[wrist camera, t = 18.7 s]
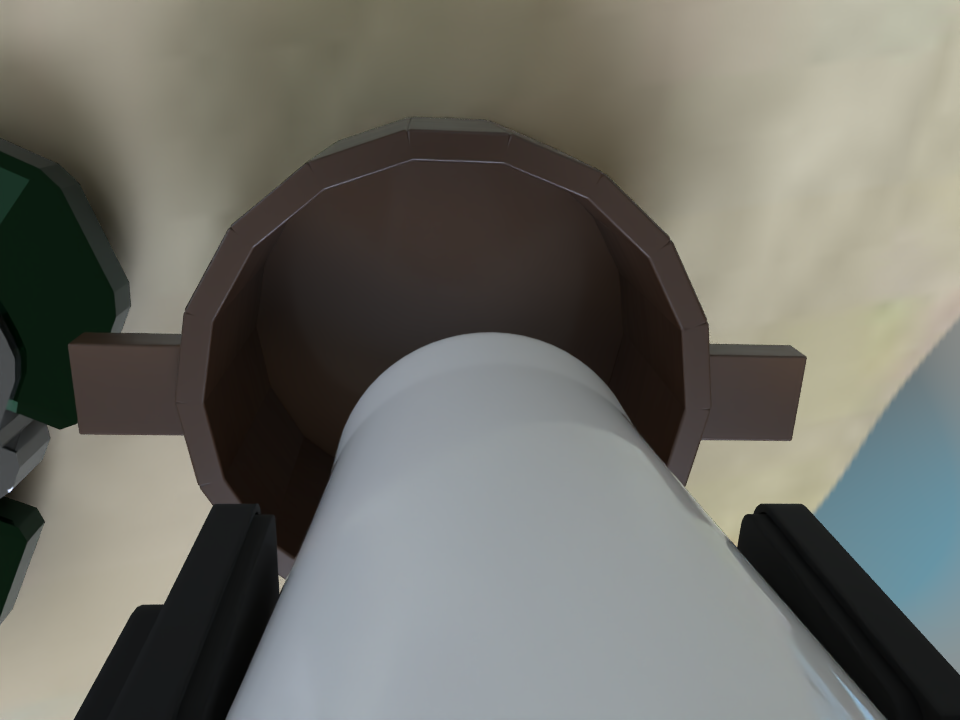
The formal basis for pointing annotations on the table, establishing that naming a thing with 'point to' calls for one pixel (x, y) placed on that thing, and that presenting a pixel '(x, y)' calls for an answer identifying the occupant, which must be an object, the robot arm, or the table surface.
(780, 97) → the table surface
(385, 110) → the table surface
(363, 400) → the drinking glass
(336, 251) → the two-handled cooking pot
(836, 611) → the robot arm
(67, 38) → the table surface
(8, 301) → the four-lobed dark green device
